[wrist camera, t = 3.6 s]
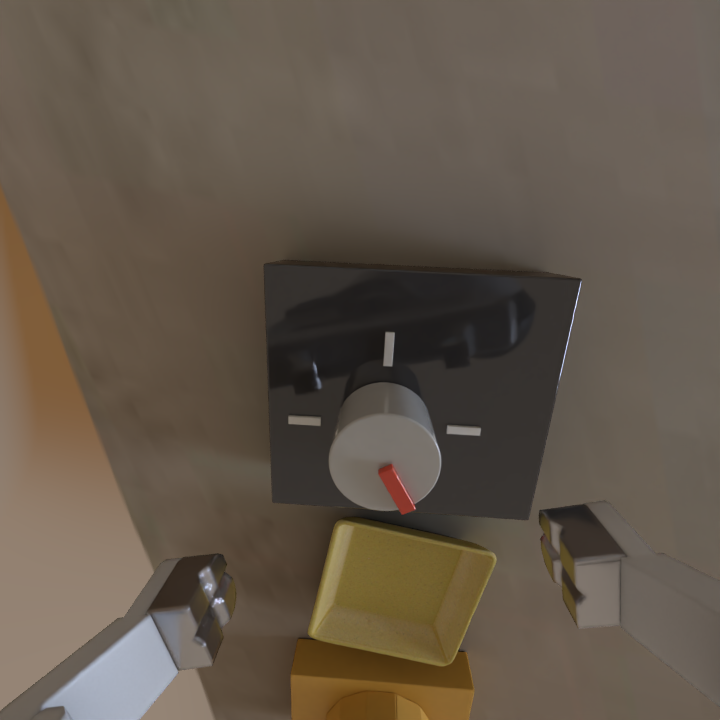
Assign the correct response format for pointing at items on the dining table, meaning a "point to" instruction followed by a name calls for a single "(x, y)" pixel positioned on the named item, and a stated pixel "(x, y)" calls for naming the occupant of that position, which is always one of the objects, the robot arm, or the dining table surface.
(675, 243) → the dining table surface
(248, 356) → the dining table surface
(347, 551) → the yellow square tray
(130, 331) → the dining table surface
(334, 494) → the panel
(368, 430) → the knob
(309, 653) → the yellow button base
